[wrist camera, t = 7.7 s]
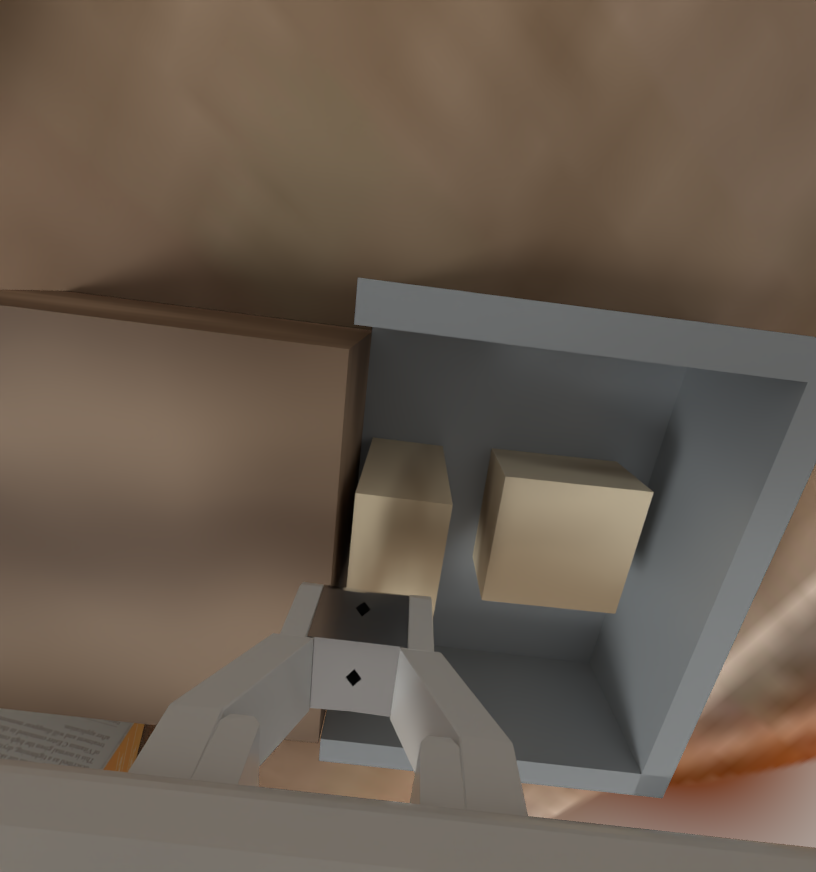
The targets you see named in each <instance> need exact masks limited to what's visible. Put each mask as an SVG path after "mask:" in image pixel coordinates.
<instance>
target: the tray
mask: <svg viewBox="0 0 816 872" xmlns="http://www.w3.org/2000/svg"><path fill="white" fill-rule="evenodd" d="M354 325H362V326H370V327H372V336H371V347H370V357H369V368H368V379H367V389H366V400H365V411H364V421H363V432H362V443H361V454H360V464H359V475H358V483H359V480H360V477H361V474H362V470H363V467H364V464H365V461H366V458H367V455H368V451H369V448H370V445H371V442H372V439H373V437H374V438H382V439H390V440H398V441H406V442H414V443H422V444H431V445H439V446H443V450H444V456H445V462H446V468H447V474H448V480H449V486H450V492H451V497H452V503H453V506H452V512H451V518H450V524H449V529H448V535H447V541H446V547H445V552H444V558H443V564H442V570H441V575H440V581H439V587H438V592H437V598H436V604H435V610H434V615H433V637H434V652H440V653H442V655H443V656H444V657H445V658H446V660H447V661H448V662H449V664H450V665H451V666H452V667H453V669H454V670H455V671H456V672H457V674H458V675H459V676H460V677H461V679H462V680H463V681H464V682H465V684H466V685H467V686H468V688H469V689H470V690H471V691H472V693H473V694H474V695H475V696H476V698H477V699H478V700H479V701H480V703H481V704H482V705H483V707H484V708H485V709H486V710H487V712H488V713H489V714H490V715H491V717H492V718H493V719H494V720H495V722H496V723H497V724H498V725H499V727H500V728H501V729H502V731H503V732H504V733H505V734H506V736H507V737H508V738H509V739H510V741H511V742H512V743H513V747H514V752H515V757H516V761H517V766H518V771H519V776H520V780H521V783H528V784H537V785H546V786H555V787H565V788H574V789H583V790H592V791H601V792H610V793H620V794H629V795H638V796H647V797H656V798H663V795H664V793H665V791H666V789H667V787H668V785H669V782H670V780H671V778H672V776H673V774H674V772H675V769H676V767H677V765H678V763H679V761H680V758H681V756H682V754H683V752H684V750H685V748H686V745H687V743H688V741H689V739H690V737H691V734H692V732H693V730H694V728H695V726H696V724H697V721H698V719H699V717H700V715H701V713H702V710H703V708H704V706H705V704H706V702H707V699H708V697H709V695H710V693H711V691H712V689H713V686H714V684H715V682H716V680H717V678H718V675H719V673H720V671H721V669H722V667H723V665H724V662H725V660H726V658H727V656H728V654H729V651H730V649H731V647H732V645H733V643H734V641H735V638H736V636H737V634H738V632H739V630H740V627H741V625H742V623H743V621H744V619H745V616H746V614H747V612H748V610H749V608H750V606H751V603H752V601H753V599H754V597H755V595H756V592H757V590H758V588H759V586H760V584H761V582H762V579H763V577H764V575H765V573H766V571H767V568H768V566H769V564H770V562H771V560H772V558H773V555H774V553H775V551H776V549H777V547H778V544H779V542H780V540H781V538H782V536H783V534H784V531H785V529H786V527H787V525H788V523H789V520H790V518H791V516H792V514H793V512H794V509H795V507H796V505H797V503H798V501H799V499H800V496H801V494H802V492H803V490H804V488H805V485H806V483H807V481H808V479H809V477H810V475H811V472H812V470H813V468H814V466H815V464H816V337H811V336H804V335H796V334H788V333H781V332H773V331H765V330H757V329H750V328H742V327H734V326H727V325H719V324H711V323H704V322H696V321H688V320H681V319H673V318H665V317H657V316H650V315H642V314H634V313H627V312H619V311H611V310H604V309H596V308H588V307H581V306H573V305H565V304H557V303H550V302H542V301H534V300H527V299H519V298H511V297H504V296H496V295H488V294H481V293H473V292H465V291H458V290H450V289H442V288H434V287H427V286H419V285H411V284H404V283H396V282H388V281H381V280H373V279H365V278H358V282H357V294H356V307H355V319H354ZM492 448H494V449H504V450H513V451H522V452H532V453H541V454H550V455H560V456H569V457H578V458H588V459H597V460H606V461H616V462H618V463H619V464H620V465H621V466H623V467H624V468H625V469H626V470H627V471H629V472H630V473H631V474H632V475H634V476H635V477H636V478H637V479H638V480H640V481H641V482H642V483H643V484H644V485H646V486H647V487H648V488H649V489H651V490H652V491H653V492H654V493H653V496H652V500H651V503H650V506H649V509H648V512H647V515H646V519H645V522H644V525H643V528H642V531H641V534H640V537H639V541H638V544H637V547H636V550H635V553H634V556H633V560H632V563H631V566H630V569H629V572H628V575H627V578H626V582H625V585H624V588H623V591H622V594H621V597H620V601H619V604H618V607H617V610H616V613H615V614H612V613H602V612H593V611H583V610H573V609H563V608H554V607H544V606H534V605H524V604H514V603H505V602H495V601H485V600H482V599H481V594H480V590H479V585H478V580H477V576H476V571H475V566H474V562H473V557H472V556H473V550H474V545H475V539H476V534H477V528H478V522H479V517H480V511H481V506H482V500H483V494H484V489H485V483H486V478H487V472H488V466H489V461H490V455H491V449H492ZM319 761H326V762H335V763H345V764H354V765H363V766H372V767H381V768H390V769H400V770H409V771H414V770H413V768H412V766H411V764H410V761H409V759H408V757H407V755H406V753H405V751H404V748H403V746H402V744H401V742H400V740H399V738H398V735H397V733H396V731H395V729H394V727H393V725H392V722H391V720H390V717H386V716H379V715H373V714H366V713H359V712H352V711H341V710H328V709H327V713H326V717H325V722H324V726H323V731H322V736H321V742H320V755H319Z"/></svg>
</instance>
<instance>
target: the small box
mask: <svg viewBox="0 0 816 872" xmlns="http://www.w3.org/2000/svg"><path fill="white" fill-rule="evenodd" d="M143 728H144V724H138V723H129V722H120V721H111V720H102V719H93V718H83V717H74V716H65V715H56V714H47V713H38V712H29V711H20V710H11V709H1V708H0V759H9V760H19V761H28V762H37V763H46V764H55V765H65V766H74V767H83V768H92V769H101V770H110V771H120V772H128V771H129V769H130V768H131V766H132V765H133V763H134V761H135V760H136V758H137V754H138V749H139V745H140V741H141V737H142V733H143Z"/></svg>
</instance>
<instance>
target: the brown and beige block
mask: <svg viewBox="0 0 816 872" xmlns="http://www.w3.org/2000/svg"><path fill="white" fill-rule="evenodd" d="M371 336H372V330H366V329H358V328H350V327H342V326H334V325H327V324H319V323H311V322H303V321H295V320H288V319H280V318H272V317H264V316H256V315H248V314H241V313H233V312H225V311H217V310H209V309H202V308H194V307H186V306H178V305H170V304H162V303H155V302H147V301H139V300H131V299H123V298H115V297H108V296H100V295H92V294H84V293H76V292H69V291H40V290H0V708H1V709H11V710H20V711H29V712H38V713H47V714H56V715H65V716H74V717H83V718H93V719H102V720H111V721H120V722H129V723H138V724H147V725H156V726H157V724H158V722H159V721H160V719H161V718H162V716H163V714H164V713H165V711H166V710H167V708H168V706H169V705H170V704H171V703H172V702H174V701H175V700H177V699H178V698H180V697H181V696H182V695H184V694H185V693H187V692H188V691H190V690H191V689H193V688H194V687H196V686H197V685H198V684H200V683H201V682H203V681H204V680H206V679H207V678H209V677H210V676H212V675H213V674H214V673H216V672H217V671H219V670H220V669H222V668H223V667H225V666H226V665H228V664H229V663H230V662H232V661H233V660H235V659H236V658H238V657H239V656H241V655H242V654H244V653H245V652H246V651H248V650H249V649H251V648H252V647H254V646H255V645H257V644H258V643H260V642H261V641H263V640H264V639H265V638H267V637H268V636H270V635H271V634H273V633H275V634H280V632H281V630H282V627H283V625H284V622H285V620H286V618H287V615H288V613H289V610H290V608H291V606H292V603H293V601H294V598H295V596H296V594H297V591H298V589H299V586H300V585H301V584H302V583H303V582H307V583H315V584H322V585H331V586H339V587H346V588H347V577H348V566H349V555H350V545H351V534H352V523H353V512H354V502H355V492H356V489H357V486H358V475H359V464H360V454H361V443H362V432H363V421H364V411H365V400H366V389H367V379H368V368H369V357H370V347H371ZM325 710H326V709H316V708H309V711H308V713H307V714H306V715H305V716H304V717H303V718H302V719H301V720H300V722H299V723H298V724H297V725H296V726H295V727H294V728H293V729H292V731H291V732H290V733H289V734H288V735H287V736H286V737H285V738H284V740H293V741H302V742H311V743H318V742H319V737H320V733H321V728H322V724H323V719H324V715H325Z"/></svg>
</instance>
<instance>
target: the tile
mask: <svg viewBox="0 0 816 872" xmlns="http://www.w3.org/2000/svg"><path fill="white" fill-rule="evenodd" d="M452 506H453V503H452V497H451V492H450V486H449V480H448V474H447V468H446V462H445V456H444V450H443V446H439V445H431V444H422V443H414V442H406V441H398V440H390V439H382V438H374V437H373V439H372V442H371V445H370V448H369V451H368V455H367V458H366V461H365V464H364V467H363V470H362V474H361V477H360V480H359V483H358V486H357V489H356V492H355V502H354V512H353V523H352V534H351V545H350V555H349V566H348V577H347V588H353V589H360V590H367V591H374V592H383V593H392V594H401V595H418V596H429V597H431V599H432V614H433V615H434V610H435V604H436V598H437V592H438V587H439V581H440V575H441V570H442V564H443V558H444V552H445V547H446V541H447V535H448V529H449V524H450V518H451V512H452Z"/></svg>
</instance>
